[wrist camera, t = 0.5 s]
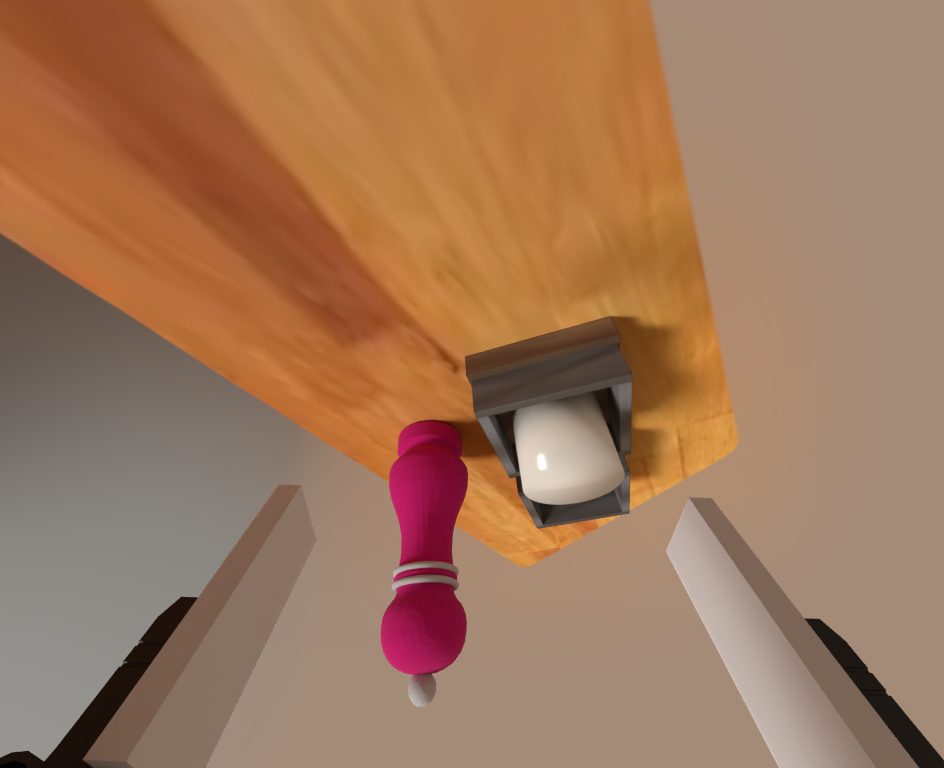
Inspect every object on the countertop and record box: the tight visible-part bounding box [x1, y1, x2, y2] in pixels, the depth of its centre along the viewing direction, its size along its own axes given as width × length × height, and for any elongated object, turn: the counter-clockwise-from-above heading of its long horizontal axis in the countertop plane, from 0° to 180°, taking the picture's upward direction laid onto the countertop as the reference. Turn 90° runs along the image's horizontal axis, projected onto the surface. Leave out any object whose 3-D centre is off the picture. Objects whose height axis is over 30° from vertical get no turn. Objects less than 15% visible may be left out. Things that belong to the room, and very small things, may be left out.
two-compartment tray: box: [465, 317, 632, 529], centre depth 34 cm, size 26×11×5 cm, turn 18°
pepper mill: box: [381, 421, 468, 707], centre depth 29 cm, size 7×7×20 cm
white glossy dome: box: [511, 391, 625, 505], centre depth 27 cm, size 7×7×7 cm
